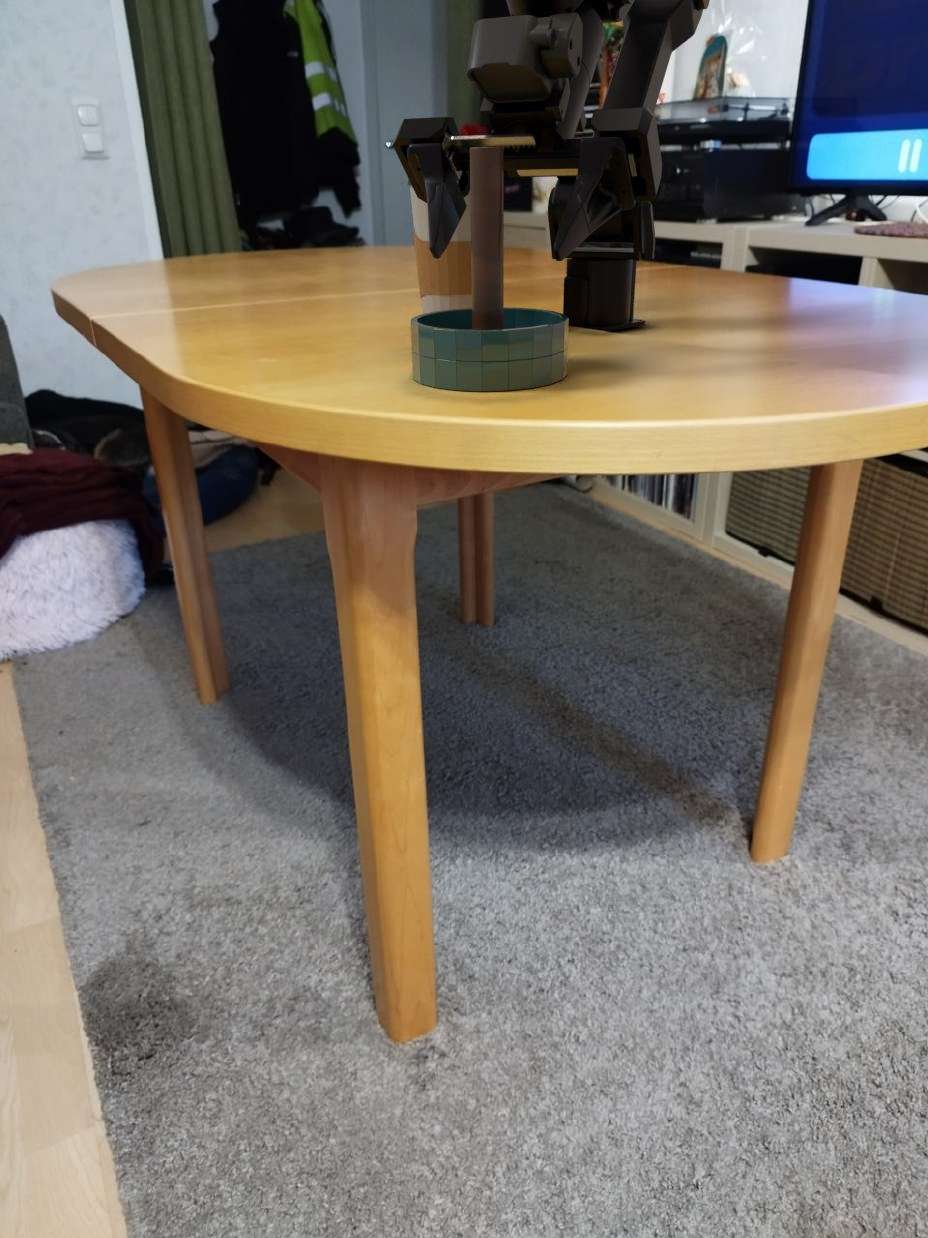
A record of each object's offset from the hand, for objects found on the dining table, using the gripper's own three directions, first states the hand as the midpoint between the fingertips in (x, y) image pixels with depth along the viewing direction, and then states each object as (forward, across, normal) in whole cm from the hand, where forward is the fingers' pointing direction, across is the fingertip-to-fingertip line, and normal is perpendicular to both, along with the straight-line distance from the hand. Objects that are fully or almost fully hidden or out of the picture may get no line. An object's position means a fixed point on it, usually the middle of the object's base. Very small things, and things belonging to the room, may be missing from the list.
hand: (493, 255), depth 61 cm
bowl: (+7, 0, +5) cm, 9 cm away
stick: (+6, 0, +5) cm, 8 cm away
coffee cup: (-7, -12, +20) cm, 24 cm away
